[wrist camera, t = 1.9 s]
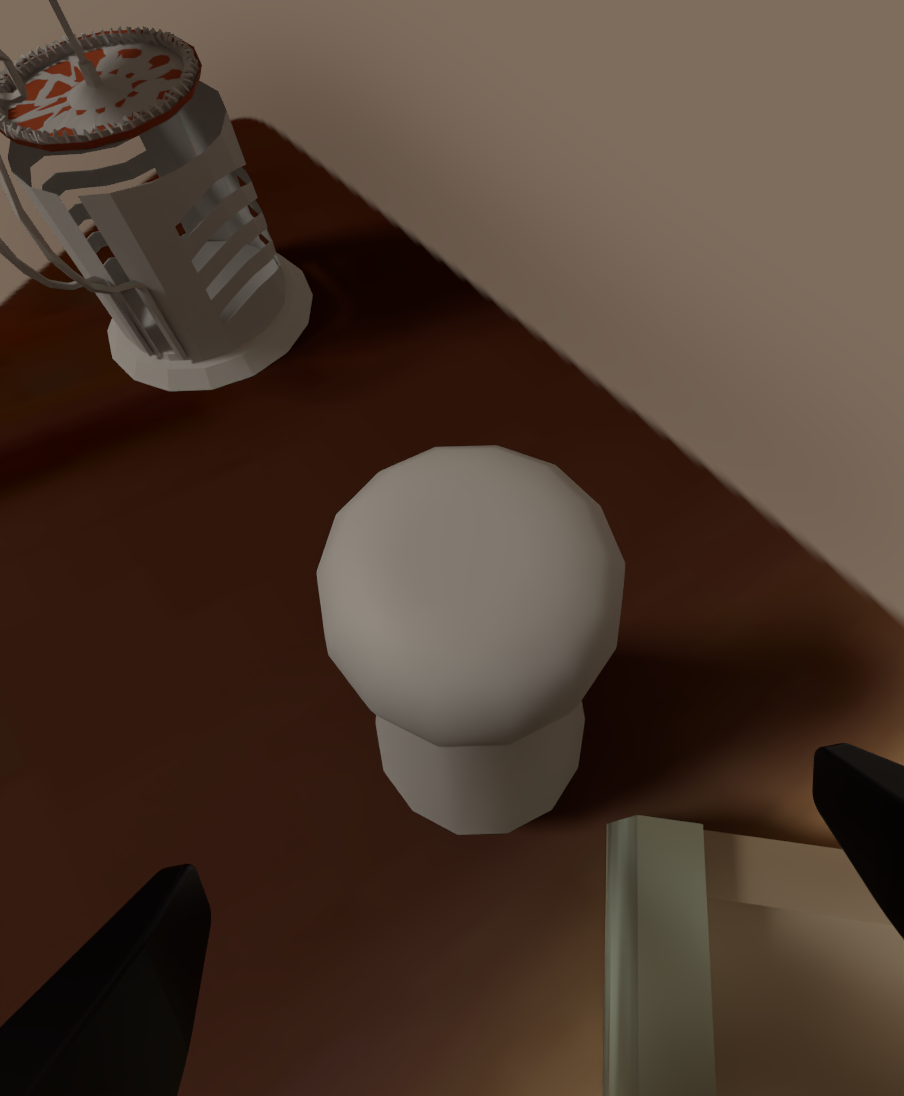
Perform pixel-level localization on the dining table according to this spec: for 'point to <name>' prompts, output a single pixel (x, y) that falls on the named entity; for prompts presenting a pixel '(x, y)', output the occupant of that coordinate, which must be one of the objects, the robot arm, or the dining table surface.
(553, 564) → the salt shaker
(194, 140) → the french press
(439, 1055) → the dining table surface
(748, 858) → the maple tray
